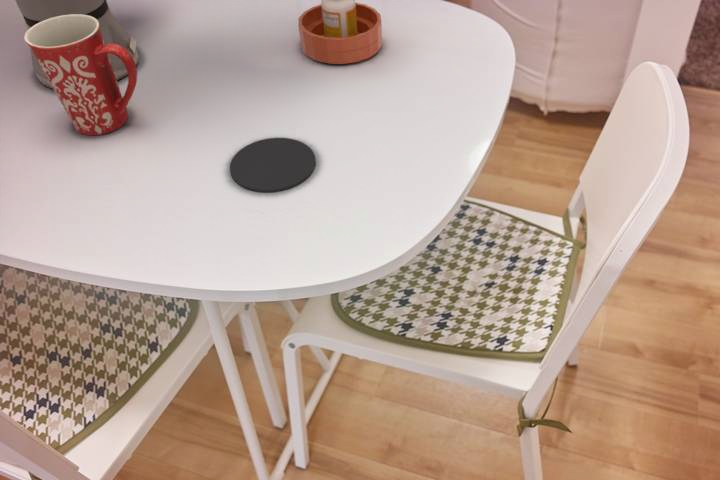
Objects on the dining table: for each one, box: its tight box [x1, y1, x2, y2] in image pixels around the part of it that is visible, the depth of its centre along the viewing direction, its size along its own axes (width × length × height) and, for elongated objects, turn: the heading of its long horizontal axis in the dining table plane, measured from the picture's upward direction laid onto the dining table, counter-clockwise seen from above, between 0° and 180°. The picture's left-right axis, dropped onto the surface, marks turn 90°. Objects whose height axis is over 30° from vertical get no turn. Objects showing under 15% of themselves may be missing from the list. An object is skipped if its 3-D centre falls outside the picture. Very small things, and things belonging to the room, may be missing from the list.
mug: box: [23, 14, 138, 136], centre depth 81 cm, size 13×9×14 cm
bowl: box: [297, 2, 383, 65], centre depth 99 cm, size 13×13×4 cm
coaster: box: [229, 137, 317, 193], centre depth 79 cm, size 11×11×1 cm
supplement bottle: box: [320, 0, 358, 38], centre depth 97 cm, size 5×5×10 cm
